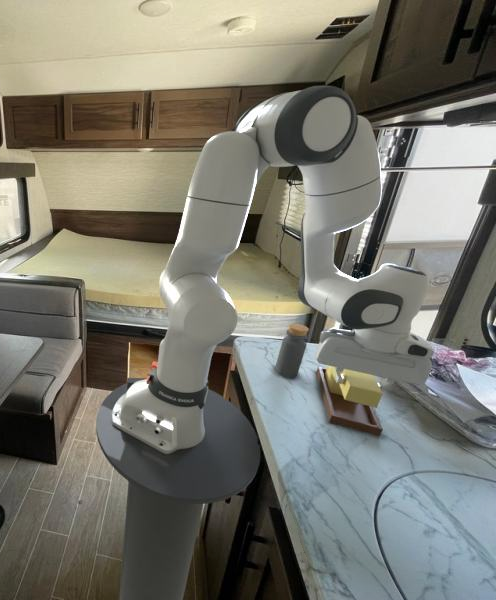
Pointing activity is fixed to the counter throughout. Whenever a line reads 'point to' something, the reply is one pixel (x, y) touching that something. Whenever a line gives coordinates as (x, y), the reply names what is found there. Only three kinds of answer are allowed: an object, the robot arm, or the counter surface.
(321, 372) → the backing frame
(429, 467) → the counter surface
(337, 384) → the seated pad
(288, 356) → the bottle
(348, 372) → the foam pad
